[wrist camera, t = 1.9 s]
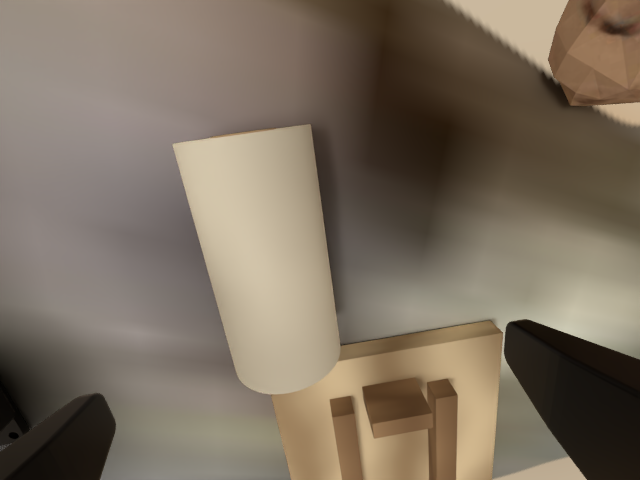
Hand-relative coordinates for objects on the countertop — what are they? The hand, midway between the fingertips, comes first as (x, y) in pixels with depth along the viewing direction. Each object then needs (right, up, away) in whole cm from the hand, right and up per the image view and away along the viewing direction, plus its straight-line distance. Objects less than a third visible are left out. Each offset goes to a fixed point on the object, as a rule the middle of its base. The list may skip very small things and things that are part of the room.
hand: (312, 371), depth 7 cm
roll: (-1, +3, +9) cm, 9 cm away
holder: (+5, -11, +14) cm, 19 cm away
